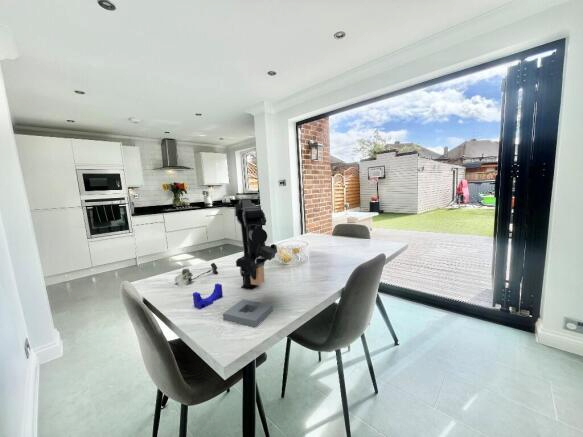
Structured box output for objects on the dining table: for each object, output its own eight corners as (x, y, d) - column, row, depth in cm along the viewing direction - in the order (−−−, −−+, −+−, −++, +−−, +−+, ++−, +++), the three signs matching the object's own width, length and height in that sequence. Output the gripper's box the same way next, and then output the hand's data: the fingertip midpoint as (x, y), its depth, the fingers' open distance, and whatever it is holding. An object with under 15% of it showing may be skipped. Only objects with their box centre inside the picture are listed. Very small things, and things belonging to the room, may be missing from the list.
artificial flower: (221, 277, 136) (219, 262, 132) (179, 294, 122) (177, 278, 118) (214, 269, 142) (212, 255, 138) (174, 285, 128) (171, 269, 124)
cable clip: (200, 309, 97) (198, 295, 96) (194, 306, 99) (192, 293, 99) (224, 298, 106) (223, 285, 105) (218, 295, 109) (217, 283, 108)
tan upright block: (250, 284, 96) (249, 264, 95) (256, 280, 99) (254, 261, 98) (259, 285, 94) (258, 265, 93) (264, 281, 98) (263, 262, 97)
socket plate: (223, 319, 88) (222, 313, 88) (243, 304, 99) (242, 299, 98) (255, 327, 82) (255, 320, 82) (272, 310, 93) (272, 304, 93)
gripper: (259, 245, 83) (262, 289, 85) (283, 235, 100) (285, 271, 101) (233, 244, 87) (236, 285, 89) (260, 234, 104) (262, 269, 106)
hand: (257, 277), depth 96 cm, fingers closed on tan upright block, 4 cm apart
